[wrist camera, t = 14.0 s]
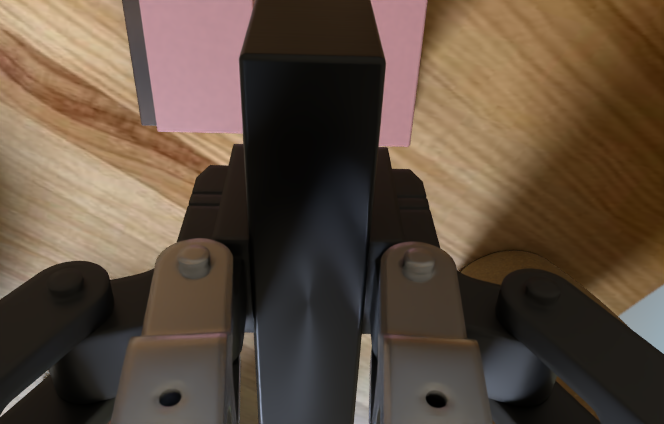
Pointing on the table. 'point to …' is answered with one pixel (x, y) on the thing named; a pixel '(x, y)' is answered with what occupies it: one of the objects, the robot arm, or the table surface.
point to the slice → (399, 65)
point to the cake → (195, 62)
